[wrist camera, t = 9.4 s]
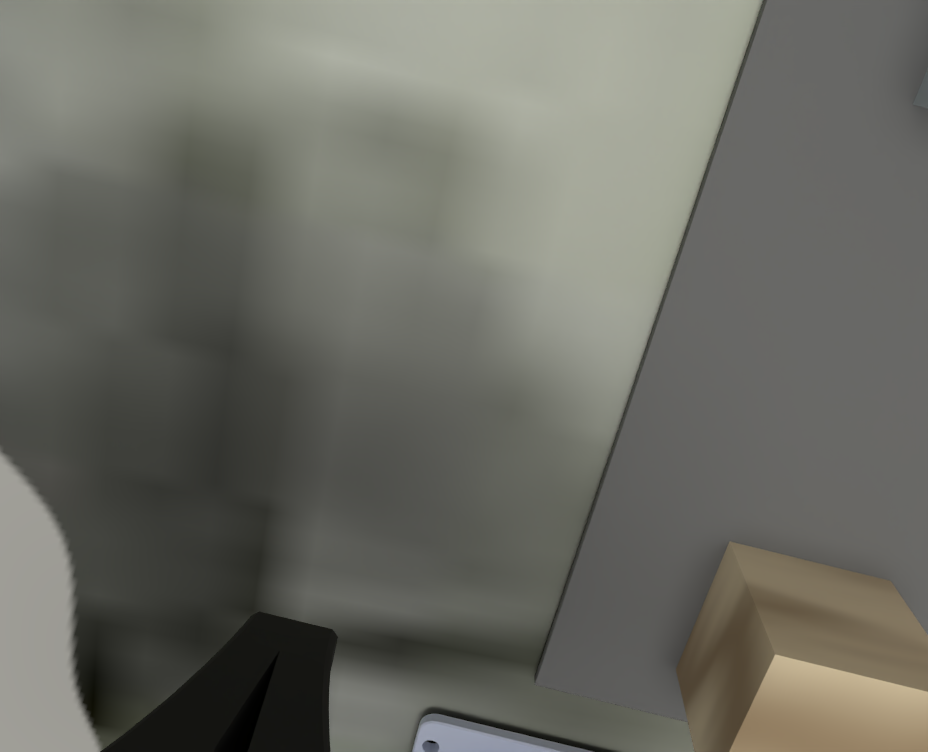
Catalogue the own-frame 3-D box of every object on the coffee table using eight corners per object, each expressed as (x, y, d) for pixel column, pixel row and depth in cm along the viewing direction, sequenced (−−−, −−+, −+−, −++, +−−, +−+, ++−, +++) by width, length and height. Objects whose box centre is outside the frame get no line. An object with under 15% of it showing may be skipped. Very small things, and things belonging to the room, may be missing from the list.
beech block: (825, 706, 24) (887, 844, 20) (676, 669, 24) (706, 800, 20) (890, 581, 22) (973, 703, 18) (729, 541, 22) (775, 654, 18)
